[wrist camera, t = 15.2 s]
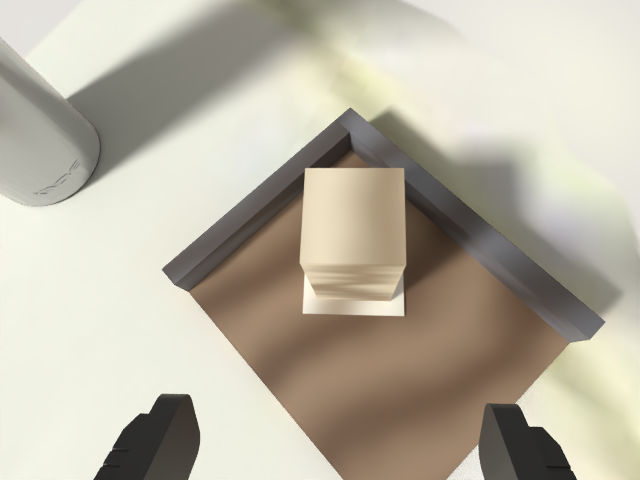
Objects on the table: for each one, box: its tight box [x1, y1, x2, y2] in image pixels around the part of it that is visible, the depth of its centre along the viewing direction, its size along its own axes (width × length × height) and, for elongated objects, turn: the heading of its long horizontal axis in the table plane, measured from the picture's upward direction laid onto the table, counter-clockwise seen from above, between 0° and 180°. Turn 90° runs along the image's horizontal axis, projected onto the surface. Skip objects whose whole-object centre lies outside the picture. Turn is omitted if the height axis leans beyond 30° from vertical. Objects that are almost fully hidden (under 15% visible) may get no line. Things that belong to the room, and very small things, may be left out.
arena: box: [162, 108, 605, 480], centre depth 28 cm, size 22×18×4 cm
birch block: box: [300, 168, 406, 301], centre depth 25 cm, size 5×5×10 cm
